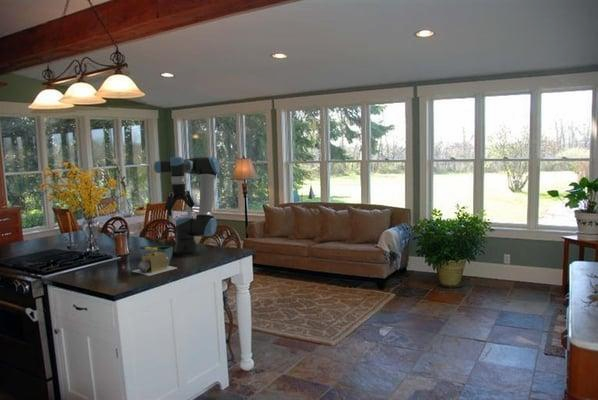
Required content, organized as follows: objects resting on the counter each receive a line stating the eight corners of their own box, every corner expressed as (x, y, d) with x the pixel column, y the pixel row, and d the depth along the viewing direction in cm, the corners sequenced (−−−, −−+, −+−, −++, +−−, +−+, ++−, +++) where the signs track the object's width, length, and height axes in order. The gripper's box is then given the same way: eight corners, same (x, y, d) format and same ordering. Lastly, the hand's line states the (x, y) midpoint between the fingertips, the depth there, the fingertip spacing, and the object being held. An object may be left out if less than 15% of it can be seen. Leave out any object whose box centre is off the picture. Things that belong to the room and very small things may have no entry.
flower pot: (174, 260, 296) (173, 246, 294) (165, 264, 287) (164, 249, 286) (162, 260, 298) (161, 246, 297) (153, 263, 290) (152, 249, 289)
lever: (138, 249, 278) (138, 246, 278) (145, 247, 281) (144, 245, 281) (152, 251, 269) (152, 249, 269) (159, 250, 272) (158, 248, 272)
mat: (131, 272, 272) (131, 271, 272) (160, 264, 286) (160, 263, 286) (149, 276, 260) (149, 275, 260) (178, 268, 275) (178, 267, 275)
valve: (136, 272, 269) (134, 253, 268) (163, 265, 283) (162, 247, 282) (145, 274, 263) (143, 255, 262) (172, 267, 277) (171, 249, 276)
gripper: (164, 185, 266) (167, 223, 268) (199, 181, 286) (201, 216, 288) (156, 185, 270) (159, 222, 273) (190, 181, 290) (193, 216, 292)
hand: (180, 219), depth 280 cm, fingers open, 13 cm apart
